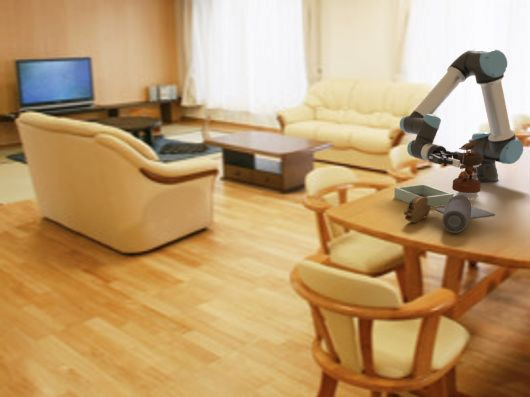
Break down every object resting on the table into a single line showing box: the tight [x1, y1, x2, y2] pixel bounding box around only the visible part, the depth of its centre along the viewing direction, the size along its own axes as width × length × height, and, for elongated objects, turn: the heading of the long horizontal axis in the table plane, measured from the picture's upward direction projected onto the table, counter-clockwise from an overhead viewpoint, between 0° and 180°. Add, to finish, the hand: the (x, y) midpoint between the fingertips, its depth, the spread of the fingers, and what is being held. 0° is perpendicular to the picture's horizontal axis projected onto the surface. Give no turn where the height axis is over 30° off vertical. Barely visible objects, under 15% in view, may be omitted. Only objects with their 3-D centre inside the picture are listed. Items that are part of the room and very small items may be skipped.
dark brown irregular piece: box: [451, 140, 483, 194], centre depth 227 cm, size 15×11×20 cm
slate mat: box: [434, 205, 495, 220], centre depth 232 cm, size 16×16×1 cm
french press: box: [455, 138, 480, 199], centre depth 256 cm, size 10×12×25 cm
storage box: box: [393, 183, 455, 208], centre depth 250 cm, size 15×20×4 cm
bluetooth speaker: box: [441, 194, 472, 234], centre depth 213 cm, size 23×9×10 cm, turn 157°
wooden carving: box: [403, 195, 432, 224], centre depth 221 cm, size 16×5×10 cm, turn 141°
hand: (470, 162), depth 226 cm, fingers closed on dark brown irregular piece, 9 cm apart
